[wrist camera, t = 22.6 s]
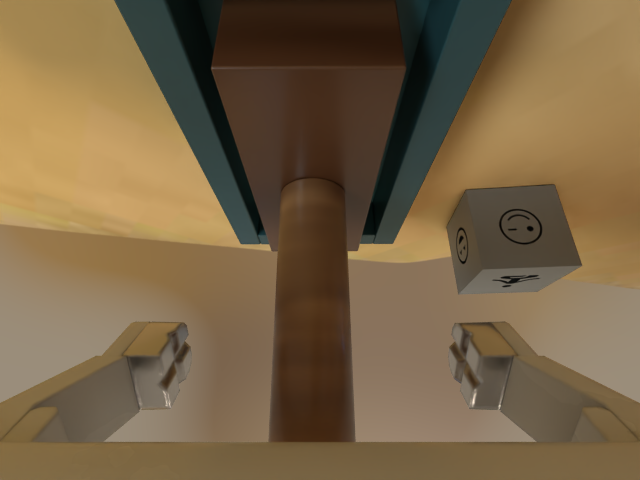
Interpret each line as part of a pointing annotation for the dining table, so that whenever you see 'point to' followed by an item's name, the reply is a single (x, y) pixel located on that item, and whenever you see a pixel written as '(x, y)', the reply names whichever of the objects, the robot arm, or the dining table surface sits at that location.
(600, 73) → the dining table surface
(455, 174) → the dining table surface
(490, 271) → the dice cube
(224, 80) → the mallet
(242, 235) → the stand
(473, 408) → the robot arm
